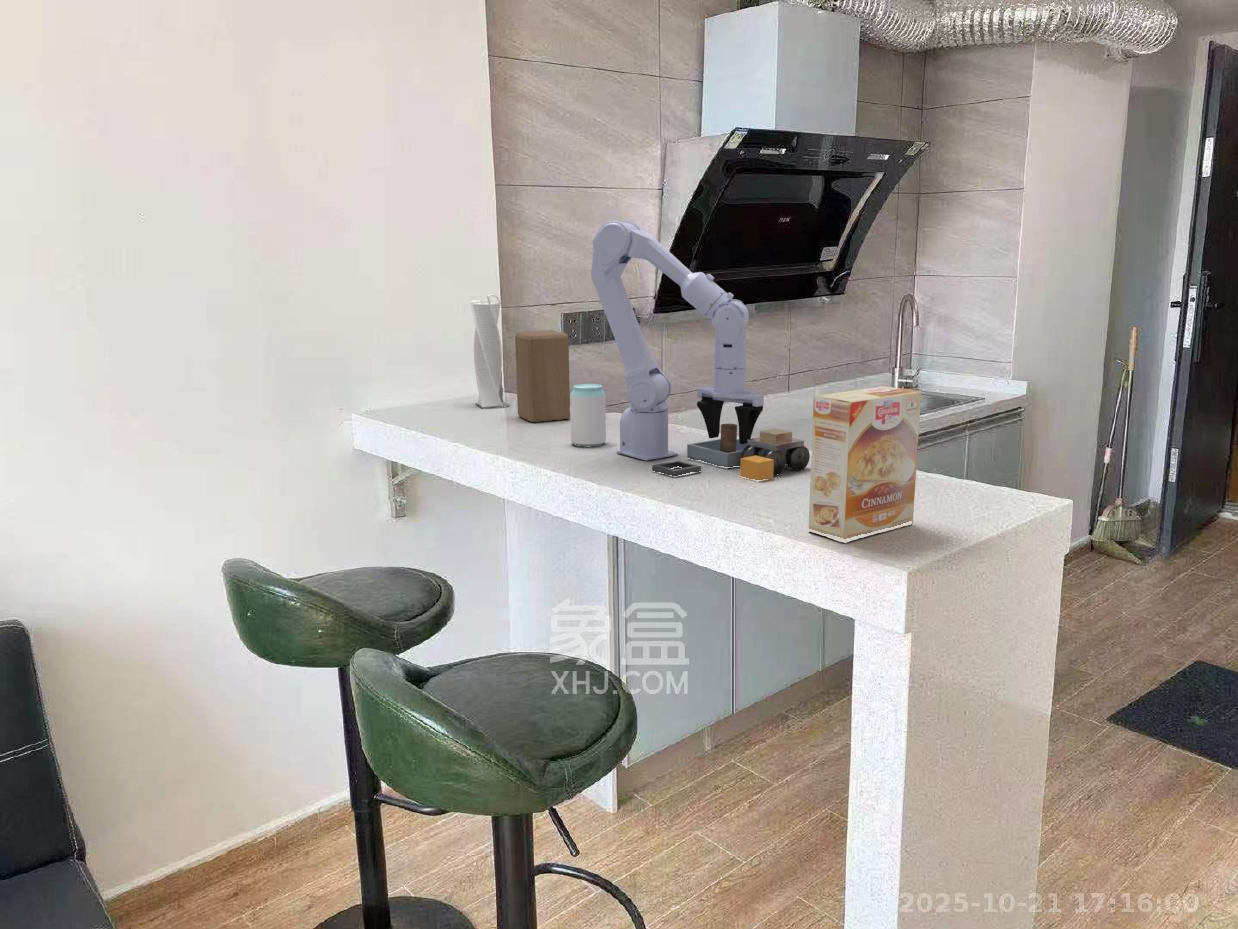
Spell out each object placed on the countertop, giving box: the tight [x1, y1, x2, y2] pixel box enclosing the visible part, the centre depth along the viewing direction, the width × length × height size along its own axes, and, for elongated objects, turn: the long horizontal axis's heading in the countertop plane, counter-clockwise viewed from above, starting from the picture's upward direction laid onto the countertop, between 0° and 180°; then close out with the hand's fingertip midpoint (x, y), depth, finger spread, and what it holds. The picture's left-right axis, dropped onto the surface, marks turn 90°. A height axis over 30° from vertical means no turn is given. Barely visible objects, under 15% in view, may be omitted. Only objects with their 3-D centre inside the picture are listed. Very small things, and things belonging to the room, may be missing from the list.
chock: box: [739, 455, 774, 480], centre depth 167 cm, size 4×4×4 cm
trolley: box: [741, 428, 811, 476], centre depth 173 cm, size 7×10×7 cm
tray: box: [686, 438, 766, 467], centre depth 181 cm, size 11×11×3 cm
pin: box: [720, 423, 738, 453], centre depth 181 cm, size 3×3×6 cm
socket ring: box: [651, 460, 702, 476], centre depth 172 cm, size 6×6×1 cm
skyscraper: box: [470, 293, 511, 409], centre depth 241 cm, size 8×8×28 cm
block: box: [514, 329, 571, 423], centre depth 224 cm, size 10×10×20 cm
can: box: [570, 383, 607, 447], centre depth 196 cm, size 7×7×12 cm
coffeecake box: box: [807, 385, 922, 539], centre depth 136 cm, size 15×7×20 cm, turn 126°
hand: (728, 440), depth 181 cm, fingers open, 7 cm apart
